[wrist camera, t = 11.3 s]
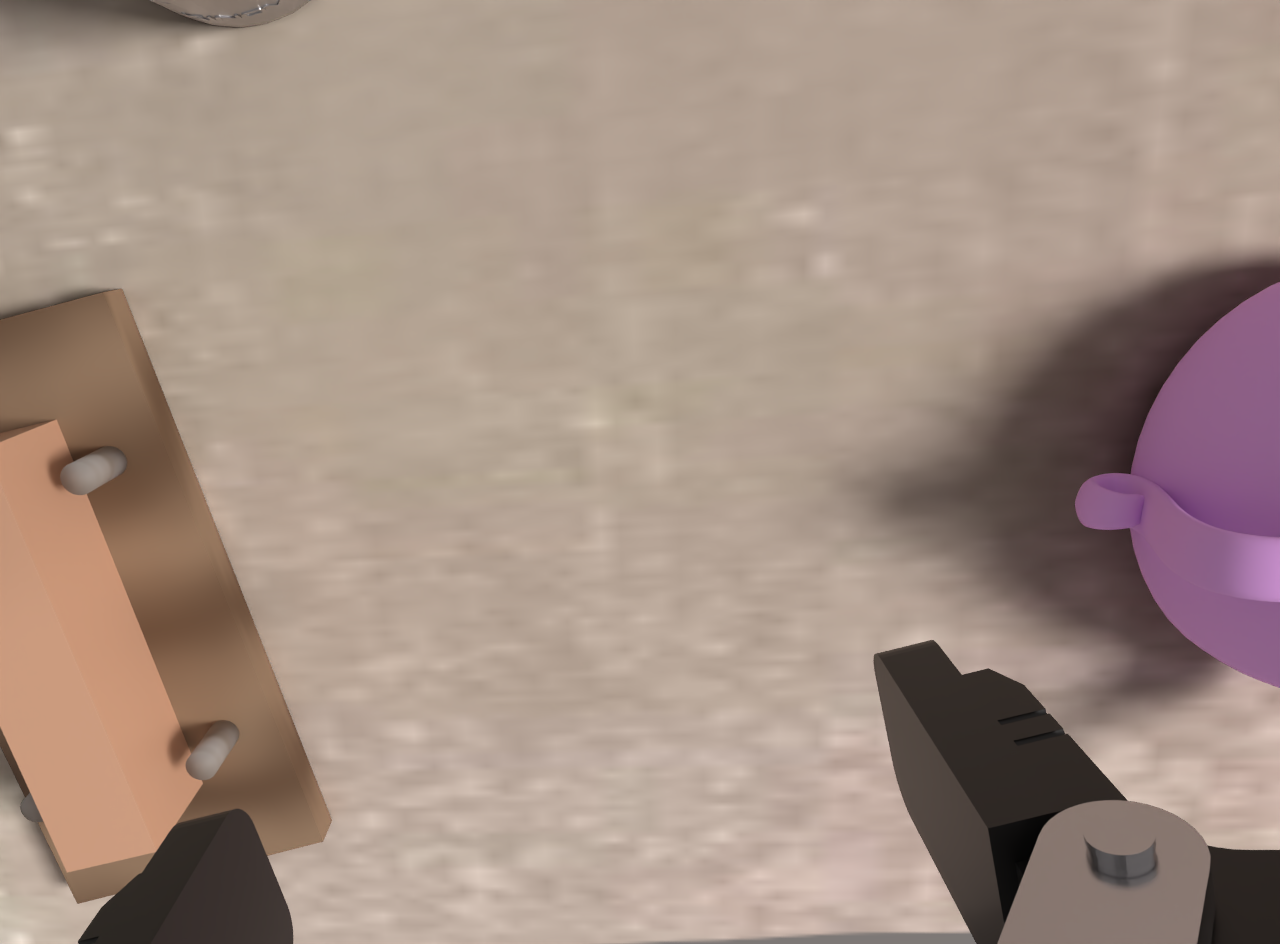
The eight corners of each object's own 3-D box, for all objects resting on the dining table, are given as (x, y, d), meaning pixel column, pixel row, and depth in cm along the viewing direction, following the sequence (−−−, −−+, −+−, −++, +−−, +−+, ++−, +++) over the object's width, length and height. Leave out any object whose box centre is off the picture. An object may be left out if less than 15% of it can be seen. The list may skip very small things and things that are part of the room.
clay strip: (-34, 441, 37) (-117, 472, 33) (56, 419, 37) (-15, 448, 33) (122, 802, 41) (66, 872, 37) (202, 783, 41) (157, 851, 37)
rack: (-155, 362, 37) (-241, 380, 34) (122, 288, 37) (67, 298, 33) (94, 880, 44) (46, 945, 40) (331, 820, 44) (306, 880, 40)
